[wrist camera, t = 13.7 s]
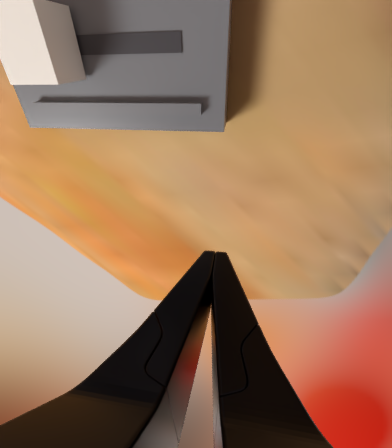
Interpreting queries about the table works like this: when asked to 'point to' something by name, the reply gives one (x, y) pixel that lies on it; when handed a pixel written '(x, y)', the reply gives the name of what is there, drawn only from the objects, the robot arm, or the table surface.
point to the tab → (39, 43)
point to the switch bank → (141, 68)
